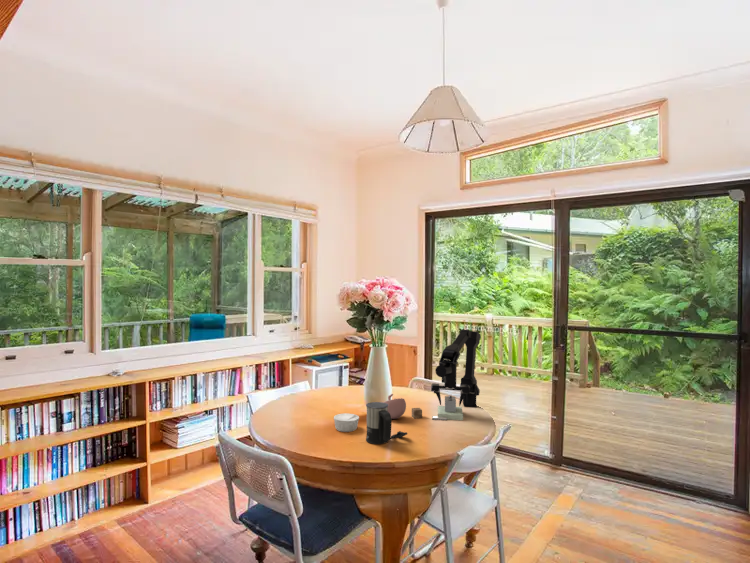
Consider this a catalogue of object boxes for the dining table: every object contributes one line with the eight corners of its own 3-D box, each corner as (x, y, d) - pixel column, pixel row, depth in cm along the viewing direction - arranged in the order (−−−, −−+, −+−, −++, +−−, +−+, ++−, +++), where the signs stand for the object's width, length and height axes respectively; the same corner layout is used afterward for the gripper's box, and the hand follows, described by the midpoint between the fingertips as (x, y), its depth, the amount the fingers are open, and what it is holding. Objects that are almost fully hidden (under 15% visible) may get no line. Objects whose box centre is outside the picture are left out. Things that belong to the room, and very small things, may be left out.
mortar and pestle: (397, 413, 222) (398, 390, 222) (410, 420, 211) (411, 396, 211) (376, 416, 216) (376, 392, 216) (388, 423, 206) (388, 398, 206)
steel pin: (447, 420, 211) (447, 420, 213) (447, 417, 212) (447, 417, 213) (432, 419, 212) (432, 419, 214) (432, 416, 213) (432, 416, 214)
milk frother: (360, 440, 183) (361, 404, 183) (385, 431, 195) (386, 397, 195) (387, 449, 174) (387, 411, 174) (411, 439, 186) (412, 403, 186)
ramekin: (360, 432, 193) (360, 420, 193) (334, 433, 191) (334, 421, 191) (357, 424, 204) (357, 412, 204) (332, 425, 202) (332, 413, 202)
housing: (455, 407, 224) (455, 395, 224) (455, 412, 215) (455, 399, 215) (444, 407, 224) (444, 394, 224) (444, 412, 216) (445, 399, 216)
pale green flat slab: (461, 411, 226) (461, 406, 226) (463, 420, 212) (463, 414, 212) (437, 410, 228) (437, 405, 228) (437, 418, 214) (437, 413, 214)
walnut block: (419, 415, 219) (419, 407, 219) (422, 418, 215) (422, 410, 215) (411, 416, 218) (411, 408, 218) (414, 418, 214) (414, 410, 214)
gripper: (468, 371, 227) (468, 402, 227) (431, 370, 229) (431, 400, 229) (470, 376, 216) (469, 408, 216) (431, 374, 218) (430, 406, 218)
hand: (450, 405), depth 220 cm, fingers open, 9 cm apart
